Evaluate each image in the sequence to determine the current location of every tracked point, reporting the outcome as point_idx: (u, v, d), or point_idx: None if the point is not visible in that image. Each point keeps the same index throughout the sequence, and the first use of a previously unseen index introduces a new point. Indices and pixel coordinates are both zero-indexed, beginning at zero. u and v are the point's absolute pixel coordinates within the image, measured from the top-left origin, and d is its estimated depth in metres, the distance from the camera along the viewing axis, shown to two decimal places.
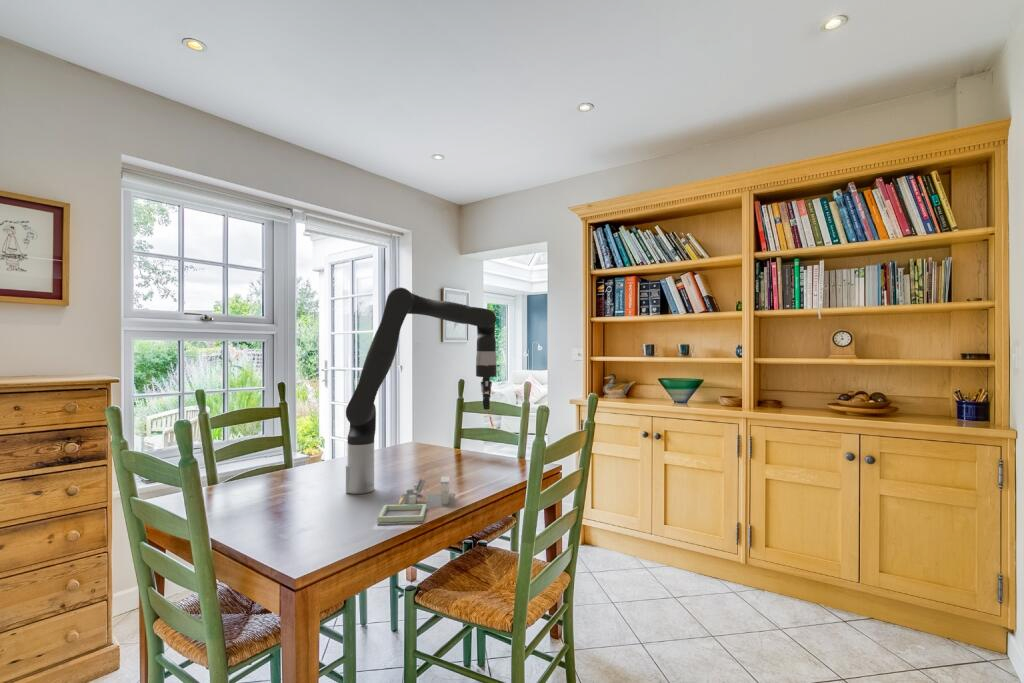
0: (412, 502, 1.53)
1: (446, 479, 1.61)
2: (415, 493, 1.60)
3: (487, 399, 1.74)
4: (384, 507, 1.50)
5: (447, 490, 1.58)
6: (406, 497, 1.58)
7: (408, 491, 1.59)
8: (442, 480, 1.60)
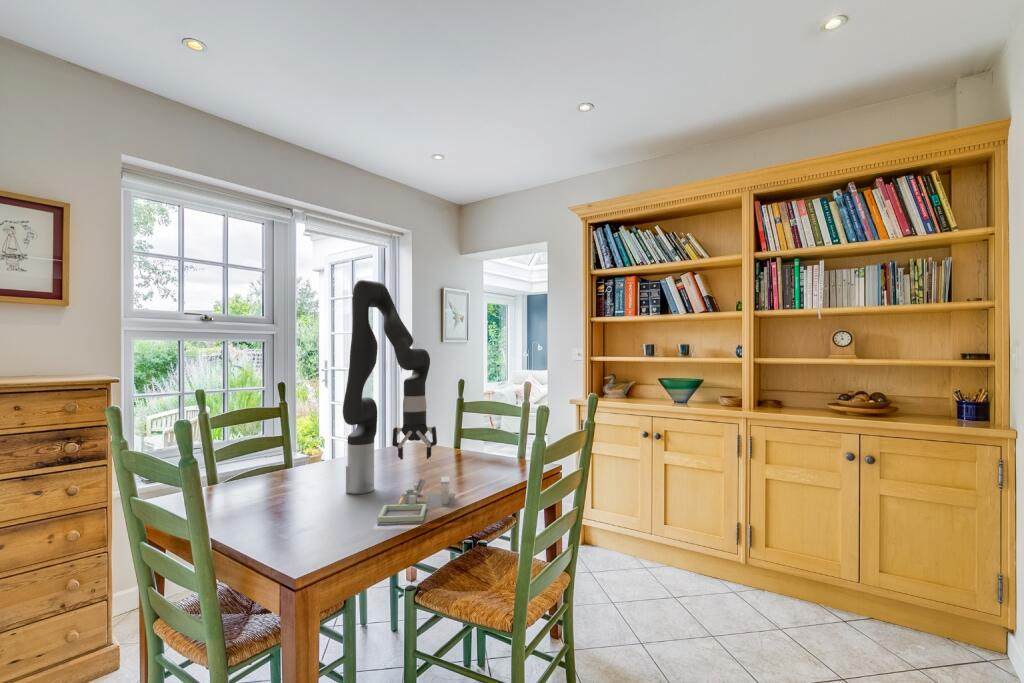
0: (412, 502, 1.53)
1: (446, 479, 1.61)
2: (415, 493, 1.60)
3: None
4: (384, 507, 1.50)
5: (447, 490, 1.58)
6: (406, 497, 1.58)
7: (408, 491, 1.59)
8: (442, 480, 1.60)
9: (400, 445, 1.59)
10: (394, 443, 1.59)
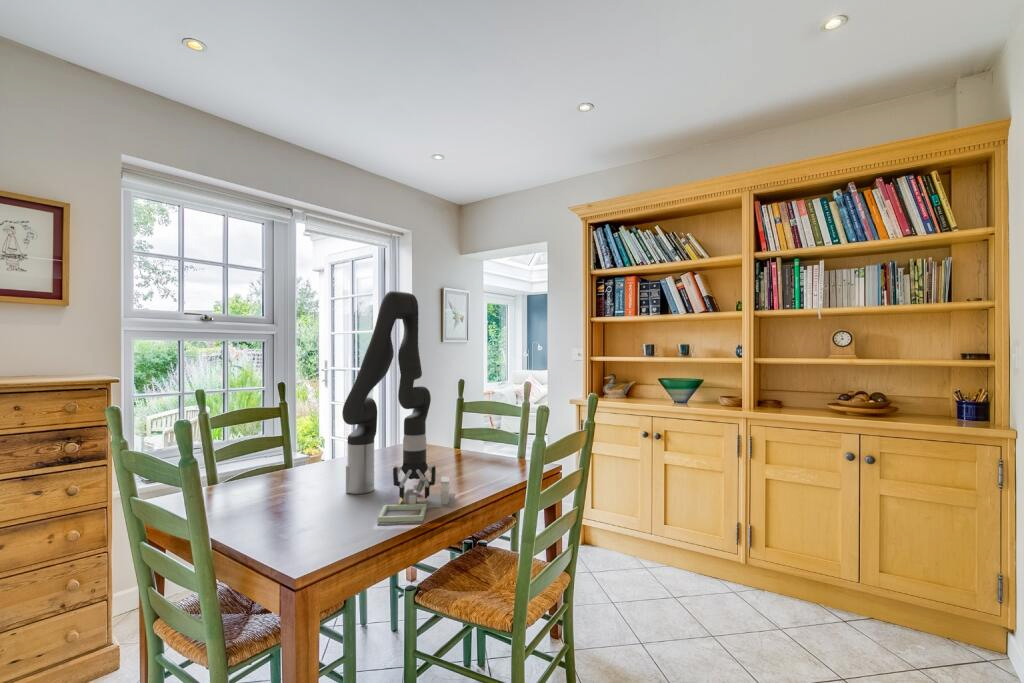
0: (412, 502, 1.53)
1: (446, 479, 1.61)
2: (415, 493, 1.60)
3: (429, 486, 1.61)
4: (384, 507, 1.50)
5: (447, 490, 1.58)
6: (406, 497, 1.58)
7: (408, 491, 1.59)
8: (442, 480, 1.60)
9: (401, 484, 1.59)
10: (395, 483, 1.59)
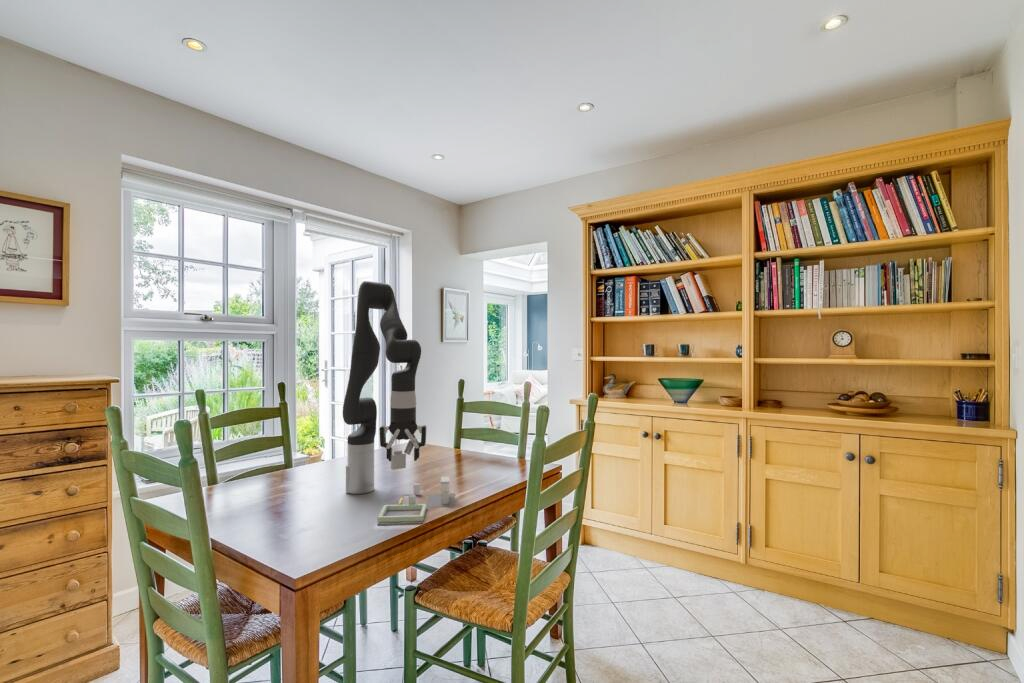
0: (412, 502, 1.53)
1: (446, 479, 1.61)
2: (403, 455, 1.47)
3: (419, 447, 1.48)
4: (384, 507, 1.50)
5: (447, 490, 1.58)
6: (394, 459, 1.45)
7: (396, 452, 1.46)
8: (442, 480, 1.60)
9: (389, 445, 1.46)
10: (382, 443, 1.46)
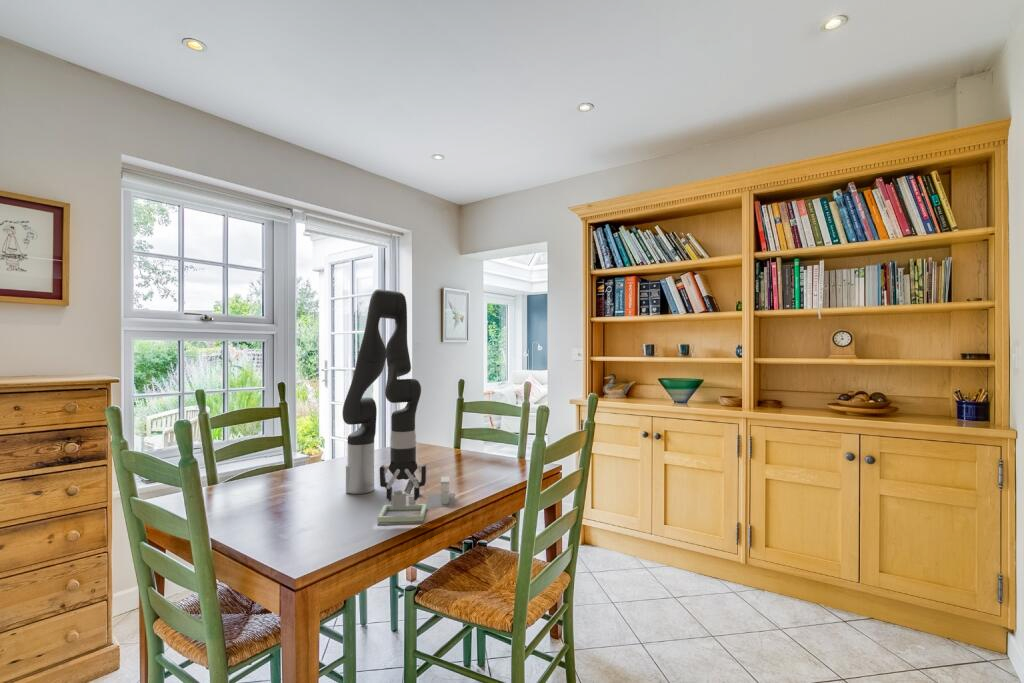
0: (412, 502, 1.53)
1: (446, 479, 1.61)
2: (404, 495, 1.47)
3: (419, 487, 1.48)
4: (384, 507, 1.50)
5: (447, 490, 1.58)
6: (394, 499, 1.45)
7: (396, 492, 1.46)
8: (442, 480, 1.60)
9: (389, 485, 1.46)
10: (382, 483, 1.46)
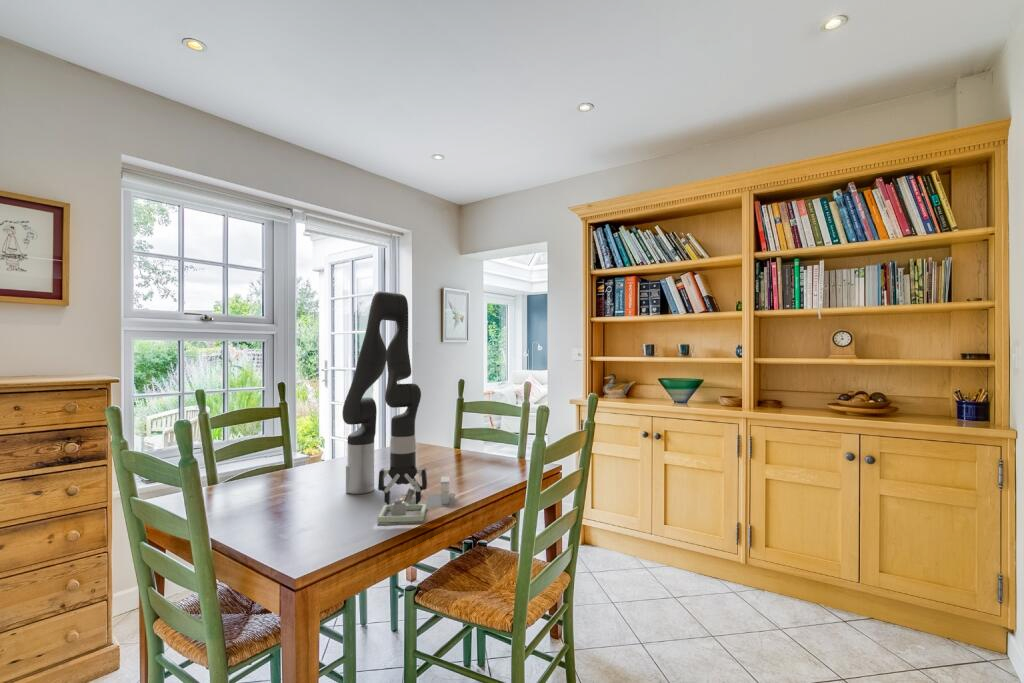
0: (412, 502, 1.53)
1: (446, 479, 1.61)
2: (403, 504, 1.47)
3: (421, 490, 1.48)
4: (384, 507, 1.50)
5: (447, 490, 1.58)
6: (394, 509, 1.45)
7: (396, 502, 1.46)
8: (442, 480, 1.60)
9: (387, 489, 1.46)
10: (380, 487, 1.46)
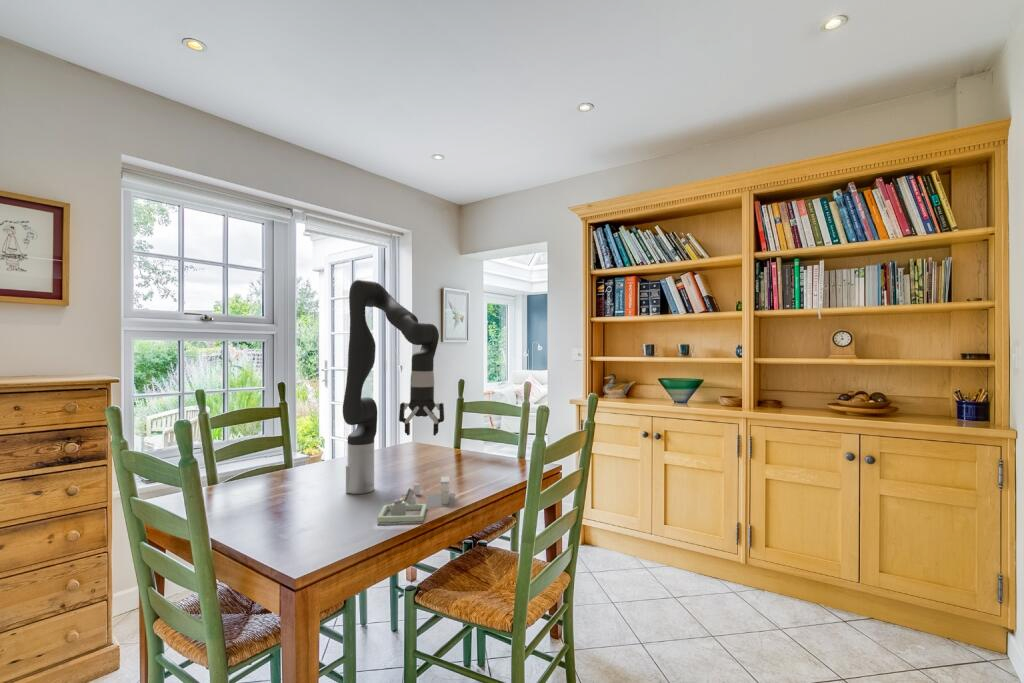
0: (412, 502, 1.53)
1: (446, 479, 1.61)
2: (403, 504, 1.47)
3: (438, 423, 1.59)
4: (384, 507, 1.50)
5: (447, 490, 1.58)
6: (394, 509, 1.45)
7: (396, 502, 1.46)
8: (442, 480, 1.60)
9: (407, 421, 1.57)
10: (401, 418, 1.56)
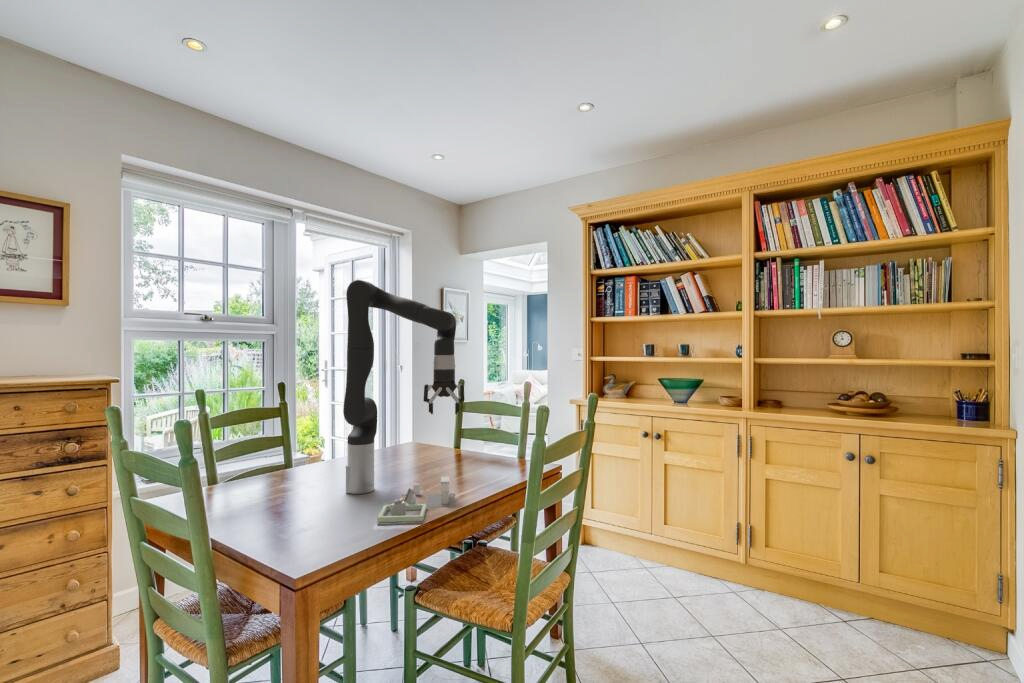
0: (412, 502, 1.53)
1: (446, 479, 1.61)
2: (403, 504, 1.47)
3: None
4: (384, 507, 1.50)
5: (447, 490, 1.58)
6: (394, 509, 1.45)
7: (396, 502, 1.46)
8: (442, 480, 1.60)
9: (431, 401, 1.71)
10: (425, 399, 1.71)
